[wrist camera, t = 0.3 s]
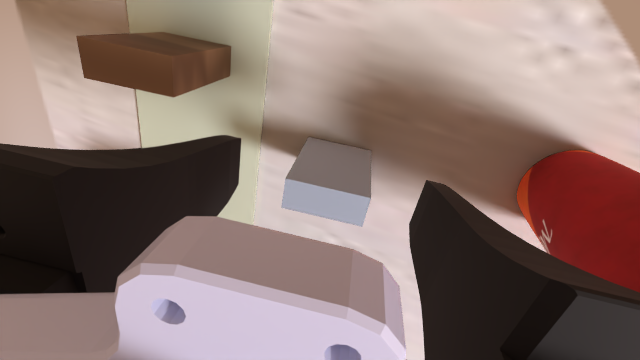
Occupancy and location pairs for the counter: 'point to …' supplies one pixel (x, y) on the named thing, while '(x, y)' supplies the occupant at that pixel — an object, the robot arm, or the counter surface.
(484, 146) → the counter surface
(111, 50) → the tile
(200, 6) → the mat
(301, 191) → the tile
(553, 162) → the paper cup
